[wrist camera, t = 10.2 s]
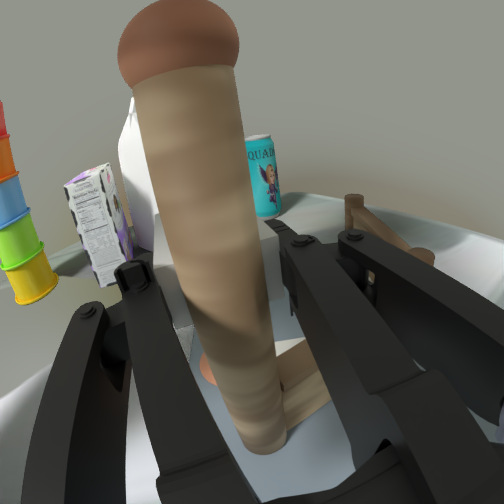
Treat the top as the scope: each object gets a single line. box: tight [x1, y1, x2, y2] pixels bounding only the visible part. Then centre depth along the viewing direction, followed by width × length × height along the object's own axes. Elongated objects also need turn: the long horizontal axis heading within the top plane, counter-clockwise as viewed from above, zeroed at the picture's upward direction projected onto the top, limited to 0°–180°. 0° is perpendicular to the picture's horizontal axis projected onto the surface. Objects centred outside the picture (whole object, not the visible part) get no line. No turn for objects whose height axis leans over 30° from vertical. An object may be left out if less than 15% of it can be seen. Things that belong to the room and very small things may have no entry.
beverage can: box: [244, 134, 281, 220], centre depth 50 cm, size 6×6×15 cm
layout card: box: [189, 277, 500, 503], centre depth 22 cm, size 28×38×1 cm
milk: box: [118, 97, 159, 252], centre depth 44 cm, size 12×12×26 cm
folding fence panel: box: [118, 0, 331, 455], centre depth 13 cm, size 16×4×22 cm, turn 123°
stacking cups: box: [0, 102, 59, 305], centre depth 32 cm, size 10×10×35 cm
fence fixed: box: [345, 194, 435, 282], centre depth 28 cm, size 2×18×7 cm, turn 3°
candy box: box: [64, 163, 133, 288], centre depth 41 cm, size 14×6×16 cm, turn 22°
